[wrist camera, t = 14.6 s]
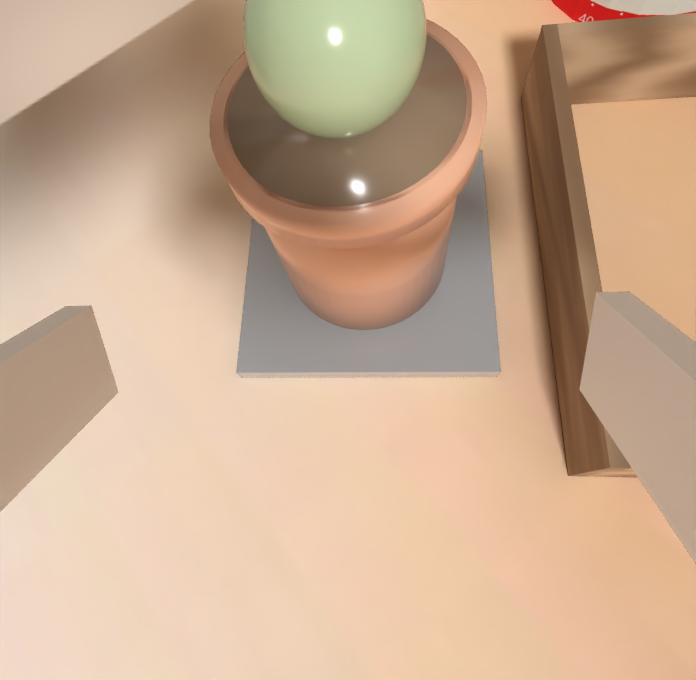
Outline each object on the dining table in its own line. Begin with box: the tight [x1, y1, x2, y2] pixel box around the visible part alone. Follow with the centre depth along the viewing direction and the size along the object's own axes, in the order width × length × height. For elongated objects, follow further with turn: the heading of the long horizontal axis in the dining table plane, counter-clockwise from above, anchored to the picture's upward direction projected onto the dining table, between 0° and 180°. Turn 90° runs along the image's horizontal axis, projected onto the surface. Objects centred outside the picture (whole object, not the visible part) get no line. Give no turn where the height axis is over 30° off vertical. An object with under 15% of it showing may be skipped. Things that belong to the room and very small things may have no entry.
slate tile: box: [236, 151, 501, 377], centre depth 28 cm, size 14×14×1 cm
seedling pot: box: [210, 0, 487, 330], centre depth 20 cm, size 10×10×16 cm
